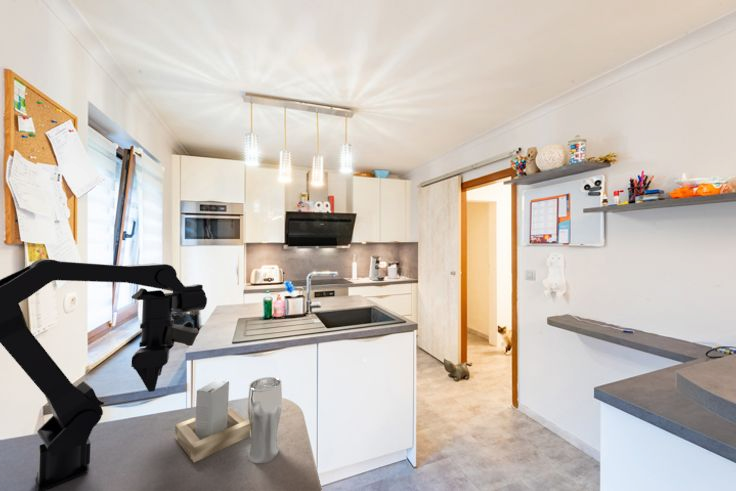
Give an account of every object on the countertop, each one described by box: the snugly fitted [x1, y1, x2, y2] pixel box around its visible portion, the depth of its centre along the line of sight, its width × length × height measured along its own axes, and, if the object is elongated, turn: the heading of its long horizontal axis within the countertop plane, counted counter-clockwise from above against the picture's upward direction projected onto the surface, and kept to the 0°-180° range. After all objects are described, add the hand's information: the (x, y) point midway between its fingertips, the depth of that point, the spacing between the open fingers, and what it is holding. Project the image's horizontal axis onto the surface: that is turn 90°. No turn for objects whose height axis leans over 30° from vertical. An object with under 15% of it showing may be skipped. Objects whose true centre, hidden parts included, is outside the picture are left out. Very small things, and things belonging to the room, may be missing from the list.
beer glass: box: [247, 376, 283, 464], centre depth 64 cm, size 7×7×15 cm
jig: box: [174, 405, 251, 463], centre depth 69 cm, size 12×12×3 cm
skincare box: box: [195, 379, 230, 440], centre depth 69 cm, size 6×4×12 cm
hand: (155, 383), depth 70 cm, fingers open, 9 cm apart
